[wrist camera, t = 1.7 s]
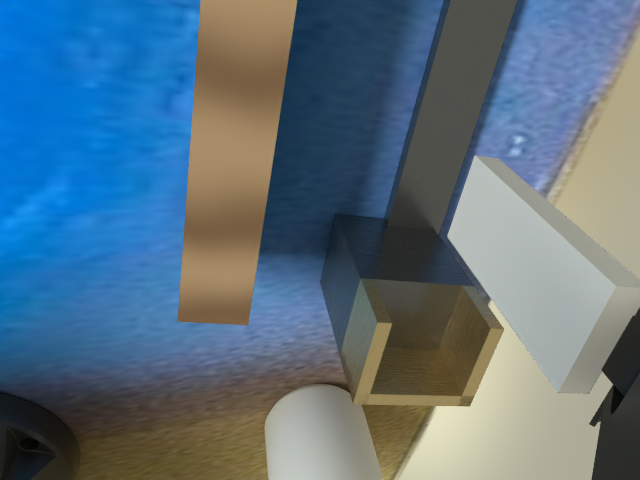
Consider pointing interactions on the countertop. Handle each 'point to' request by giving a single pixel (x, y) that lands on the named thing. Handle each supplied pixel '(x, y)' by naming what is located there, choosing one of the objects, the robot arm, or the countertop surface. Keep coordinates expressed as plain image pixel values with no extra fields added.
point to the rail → (232, 153)
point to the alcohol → (319, 437)
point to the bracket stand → (420, 240)
